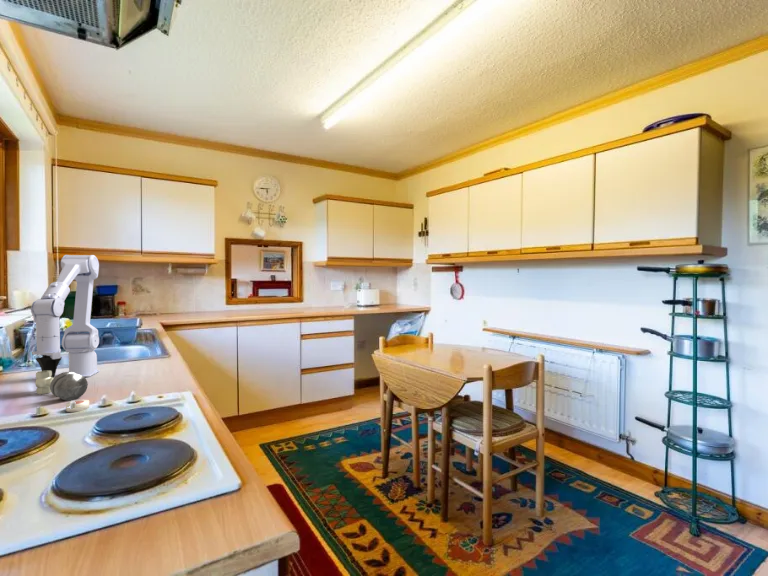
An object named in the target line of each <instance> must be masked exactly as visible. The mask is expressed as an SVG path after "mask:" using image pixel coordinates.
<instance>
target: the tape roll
mask: <svg viewBox="0 0 768 576" xmlns="http://www.w3.org/2000/svg"><path fill="white" fill-rule="evenodd" d="M74 401H75V402H76V404H77V405H80V406H82V407H77V408H73V409H70V408H67V407H69V406H70V402H71V401H69V402H66V404H65V411H66V412H67V413H75V412H82V411H85V410H88V409H89V408H90V400H89V399H76V400H74Z"/></svg>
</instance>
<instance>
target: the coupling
mask: <svg viewBox="0 0 768 576" xmlns="http://www.w3.org/2000/svg"><path fill="white" fill-rule="evenodd" d="M88 384H89V383H88V381H87V377H83V376H82V375H79V374H76V373H74V372H69V371H64V372H61V373H59V374H57V375H55V377H54V379H53V380H52V382H51V384H50V391H51V392H50V393H51V394H52V395H53V396H54V397H56V398H59V399H61V400H63V401H69V402H72V401H76V400H79V399H80V398H81V397H82V396H83V395H84V394H85V393H86V391H87V390H88Z"/></svg>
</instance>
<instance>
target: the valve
mask: <svg viewBox="0 0 768 576" xmlns="http://www.w3.org/2000/svg"><path fill="white" fill-rule="evenodd" d="M51 376H52V371H51V370H45V371H42V370H41V371H40V370H39V371H37V372H35V378H36V380H35V383H34V384H35V387H36V388H35V389H36V390H35V391H36V394H37V395H47V394H50V393H51V391H50V384H51V382H52V380H53V379H54V378H55V377H54V378H53V377H51Z"/></svg>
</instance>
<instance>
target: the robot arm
mask: <svg viewBox="0 0 768 576" xmlns="http://www.w3.org/2000/svg"><path fill="white" fill-rule="evenodd" d="M60 267H61V271H60V273H59V275H58V277H57V279H56V281H53V282H51V283H50V284H49V285H48V287H47V288H46V290H45V291H44V293H43V294H42V296H41V298H38V299H36V300H34V301H33V302H32V304H31V308H30V313H31V315H32V318H33V322H34V323H35V332H36V333H35V334H36V336H35V337H36V338H35V339H36V350H35V351H31V355H33V356H34V355H35V356H36V355H37V356H41V357H37V358H35V360H36V362H37V363H38V365H39V367H40V369H41V371H45V370H51V371H52V376H51V377H53V378H55V377H56V373H57V372H56V371H57V368H58V366H59V364H60V362H61V361H62V356H61V355H62V354H61V353H62V349H61V347H62V348H63V350H65V352H66V353H68V372H74V373H76V374H79V375H82V376H83V377H85V378H88V377H91V376H93V375H95V374H97V373H100V372H101V369H98V355H97V353H96V351H95V350H96V349H97V348H98V346H99V344H100V337H99V330H98V328H96V327H95V326H94V325H92V324H91V317H92V315H91V314H92V304H93V303H92V302H93V294H94V293H93V292H94V282H95V281H94V280H96V279H98V277H99V272H100V271H99V270H100V261H99V260H98V257H97V256H96V255H94V254H90V255H88V254H83V255H82V254H81V255H79V254H75V255H74V254H72V255H71V254H65V255H63V257H61V260H60ZM74 280H75V282H76V289H75V290H76V291H75V299H74V300H75V301H74V308H73V309H74V310H73V321H72V324H71V325H70V326H69V327H67V328H66V329H64V332H63V333H64V334H63V336H62V339H61V334H60V333H61V332H60V331H61V330H60V326H61V325H60V316H62V315H63V313H64V309H65V308H64V307H65V304H66V303H65V300H66V299H67V297H68V295H69V294H70V292H71V289H70V287H69V286H70V285H71V284H72V282H73V281H74Z"/></svg>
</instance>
